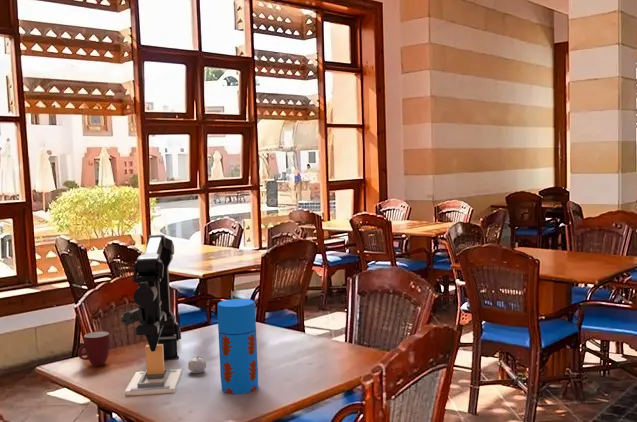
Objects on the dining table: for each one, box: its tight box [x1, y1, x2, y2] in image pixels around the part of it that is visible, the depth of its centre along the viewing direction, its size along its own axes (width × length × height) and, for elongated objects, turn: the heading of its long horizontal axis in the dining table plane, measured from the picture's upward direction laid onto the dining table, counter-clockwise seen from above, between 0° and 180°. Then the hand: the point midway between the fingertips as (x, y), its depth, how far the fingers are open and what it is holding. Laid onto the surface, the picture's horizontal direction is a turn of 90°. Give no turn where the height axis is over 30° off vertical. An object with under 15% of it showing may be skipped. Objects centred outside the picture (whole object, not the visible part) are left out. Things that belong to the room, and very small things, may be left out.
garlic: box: [187, 355, 207, 374], centre depth 216 cm, size 6×5×5 cm
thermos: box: [216, 298, 259, 395], centre depth 199 cm, size 11×11×25 cm
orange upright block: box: [144, 344, 165, 379], centre depth 208 cm, size 4×5×10 cm
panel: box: [124, 368, 183, 396], centre depth 206 cm, size 18×14×2 cm
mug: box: [77, 331, 111, 367], centre depth 227 cm, size 11×8×10 cm
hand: (153, 351), depth 205 cm, fingers closed
